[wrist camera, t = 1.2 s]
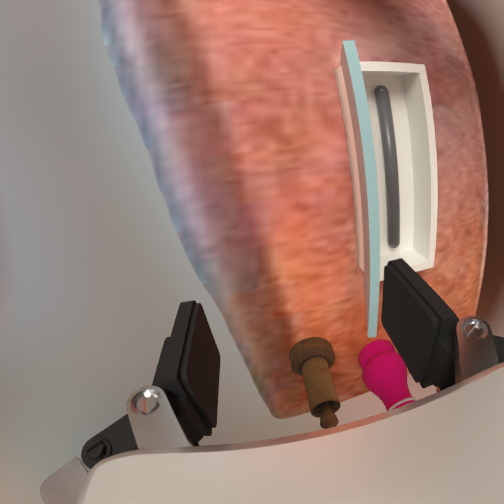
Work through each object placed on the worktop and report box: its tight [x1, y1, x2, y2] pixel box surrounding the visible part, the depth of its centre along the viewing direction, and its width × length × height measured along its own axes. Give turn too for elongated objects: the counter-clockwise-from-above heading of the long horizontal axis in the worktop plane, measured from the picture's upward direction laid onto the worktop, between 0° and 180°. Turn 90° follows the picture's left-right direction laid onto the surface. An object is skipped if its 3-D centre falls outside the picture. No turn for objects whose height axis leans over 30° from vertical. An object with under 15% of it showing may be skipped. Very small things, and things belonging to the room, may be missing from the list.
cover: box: [340, 40, 380, 337], centre depth 23 cm, size 24×9×1 cm
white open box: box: [334, 62, 438, 281], centre depth 29 cm, size 24×9×5 cm, turn 11°
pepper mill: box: [358, 340, 417, 411], centre depth 34 cm, size 7×7×20 cm
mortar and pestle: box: [290, 337, 340, 429], centre depth 34 cm, size 7×6×18 cm
